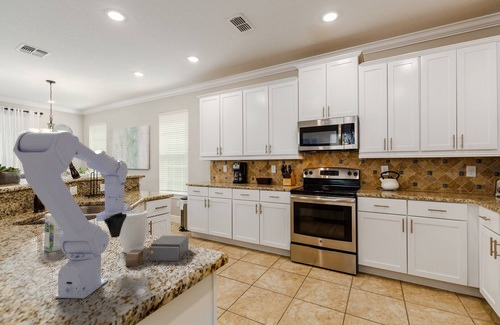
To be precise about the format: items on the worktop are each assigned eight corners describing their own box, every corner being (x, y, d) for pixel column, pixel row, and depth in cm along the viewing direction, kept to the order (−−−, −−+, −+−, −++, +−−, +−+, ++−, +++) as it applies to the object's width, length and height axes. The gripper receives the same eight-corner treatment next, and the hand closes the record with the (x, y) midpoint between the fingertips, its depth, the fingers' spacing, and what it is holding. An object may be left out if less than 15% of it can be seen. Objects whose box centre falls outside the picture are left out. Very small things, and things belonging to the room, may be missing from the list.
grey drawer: (177, 261, 81) (177, 248, 81) (147, 260, 82) (148, 247, 82) (187, 250, 92) (187, 238, 92) (161, 249, 93) (161, 238, 93)
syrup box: (43, 250, 93) (43, 213, 93) (60, 245, 98) (61, 211, 99) (50, 252, 90) (50, 215, 91) (67, 247, 96) (68, 212, 96)
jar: (135, 255, 87) (135, 215, 88) (112, 253, 89) (112, 214, 90) (152, 246, 98) (153, 210, 98) (131, 244, 100) (131, 209, 100)
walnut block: (137, 266, 78) (137, 254, 78) (125, 265, 78) (125, 254, 78) (143, 261, 82) (143, 249, 82) (132, 261, 82) (132, 249, 82)
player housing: (179, 259, 83) (179, 244, 83) (150, 259, 84) (150, 243, 84) (188, 249, 93) (188, 235, 93) (162, 249, 94) (162, 235, 94)
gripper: (111, 200, 70) (111, 245, 70) (138, 193, 85) (138, 230, 85) (89, 200, 71) (90, 244, 71) (120, 193, 85) (120, 230, 85)
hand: (115, 236), depth 78 cm, fingers closed
